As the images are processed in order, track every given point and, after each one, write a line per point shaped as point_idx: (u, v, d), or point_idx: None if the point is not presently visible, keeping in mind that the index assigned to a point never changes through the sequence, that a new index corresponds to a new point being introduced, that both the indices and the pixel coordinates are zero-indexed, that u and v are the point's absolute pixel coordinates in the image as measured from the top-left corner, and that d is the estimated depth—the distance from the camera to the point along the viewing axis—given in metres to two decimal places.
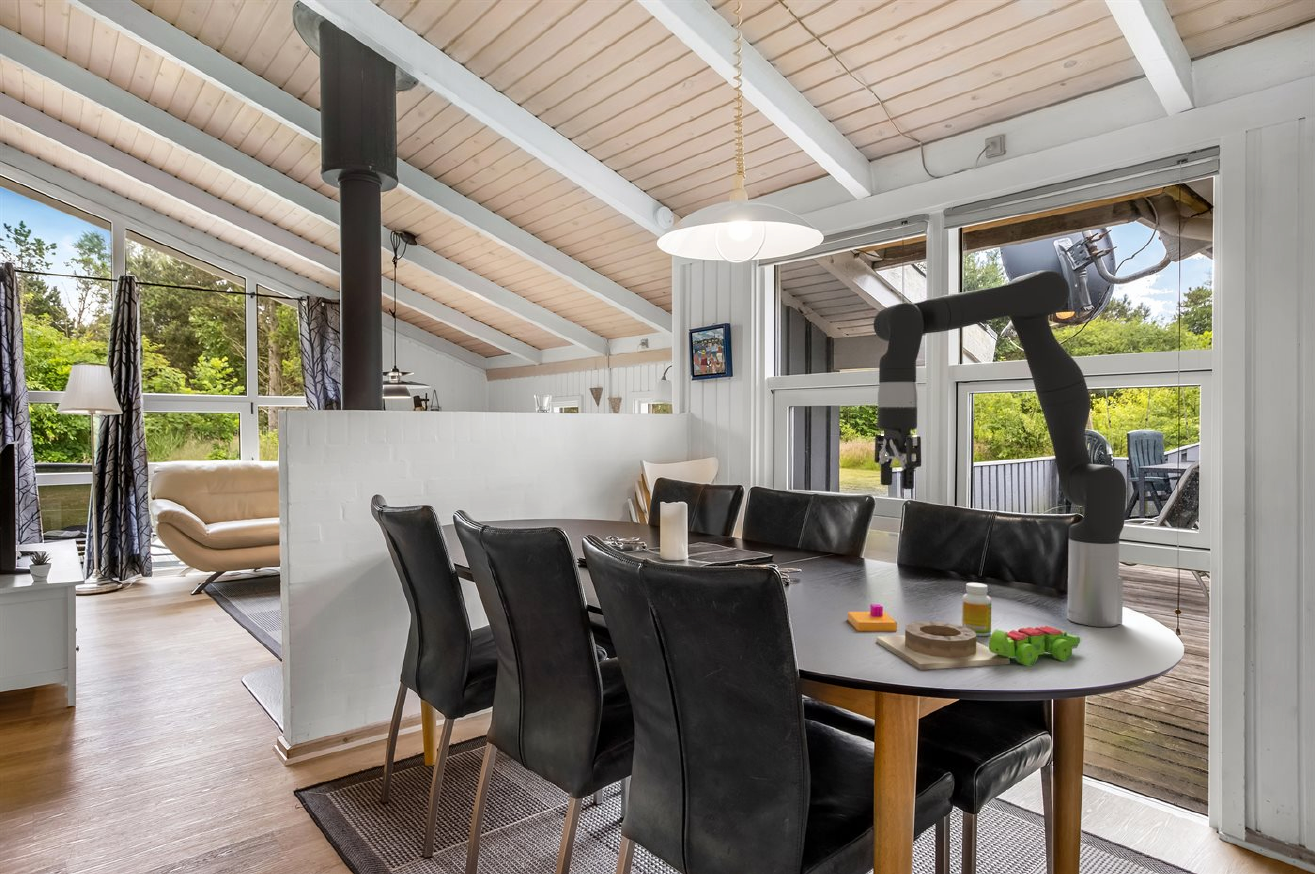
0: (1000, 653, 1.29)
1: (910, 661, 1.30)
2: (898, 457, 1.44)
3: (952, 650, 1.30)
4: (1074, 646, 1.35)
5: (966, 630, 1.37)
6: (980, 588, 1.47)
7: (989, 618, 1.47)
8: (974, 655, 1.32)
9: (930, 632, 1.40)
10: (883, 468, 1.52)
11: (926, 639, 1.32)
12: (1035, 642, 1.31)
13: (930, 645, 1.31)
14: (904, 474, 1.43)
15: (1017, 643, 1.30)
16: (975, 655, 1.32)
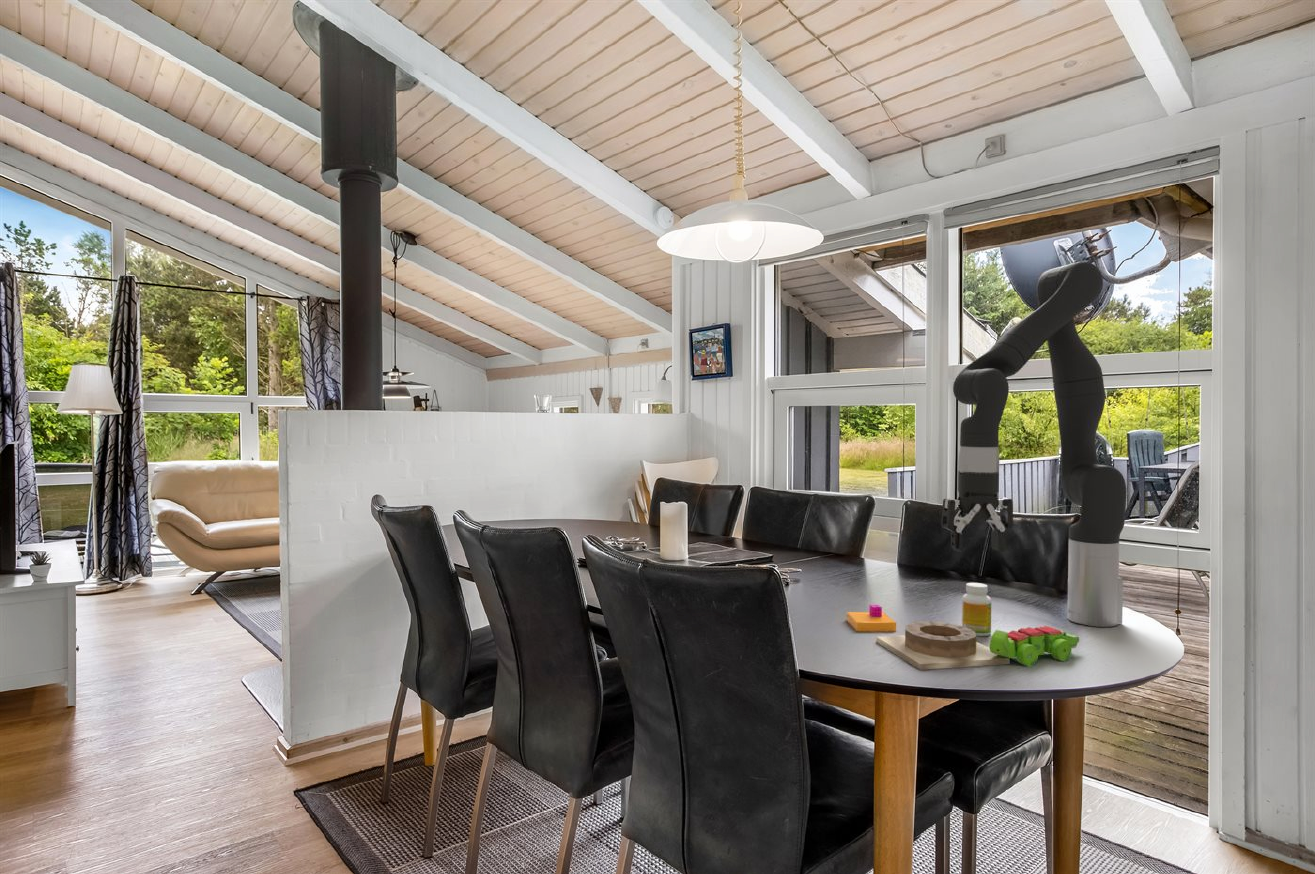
0: (1001, 654, 1.29)
1: (910, 661, 1.30)
2: (998, 520, 1.47)
3: (952, 650, 1.30)
4: (1073, 646, 1.35)
5: (966, 630, 1.37)
6: (980, 588, 1.47)
7: (989, 618, 1.47)
8: (974, 655, 1.32)
9: (930, 632, 1.40)
10: None
11: (926, 639, 1.32)
12: (1035, 642, 1.31)
13: (930, 645, 1.31)
14: None
15: (1017, 644, 1.30)
16: (975, 655, 1.32)
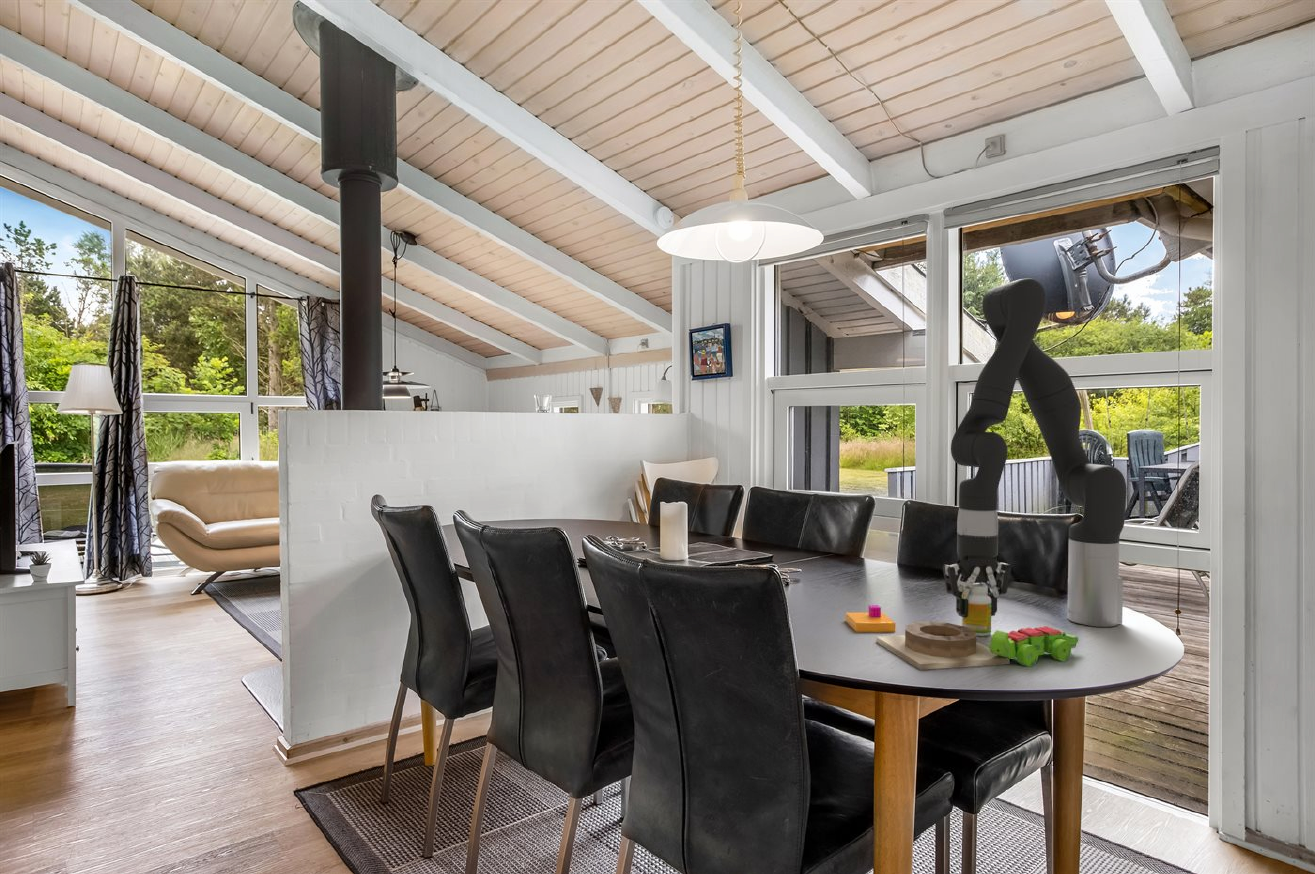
0: (1001, 654, 1.29)
1: (910, 661, 1.30)
2: (994, 585, 1.47)
3: (952, 650, 1.30)
4: (1072, 646, 1.35)
5: (966, 630, 1.37)
6: (980, 588, 1.47)
7: (989, 618, 1.47)
8: (974, 655, 1.32)
9: (930, 632, 1.40)
10: None
11: (926, 639, 1.32)
12: (1035, 642, 1.31)
13: (930, 645, 1.31)
14: None
15: (1017, 644, 1.30)
16: (975, 655, 1.32)
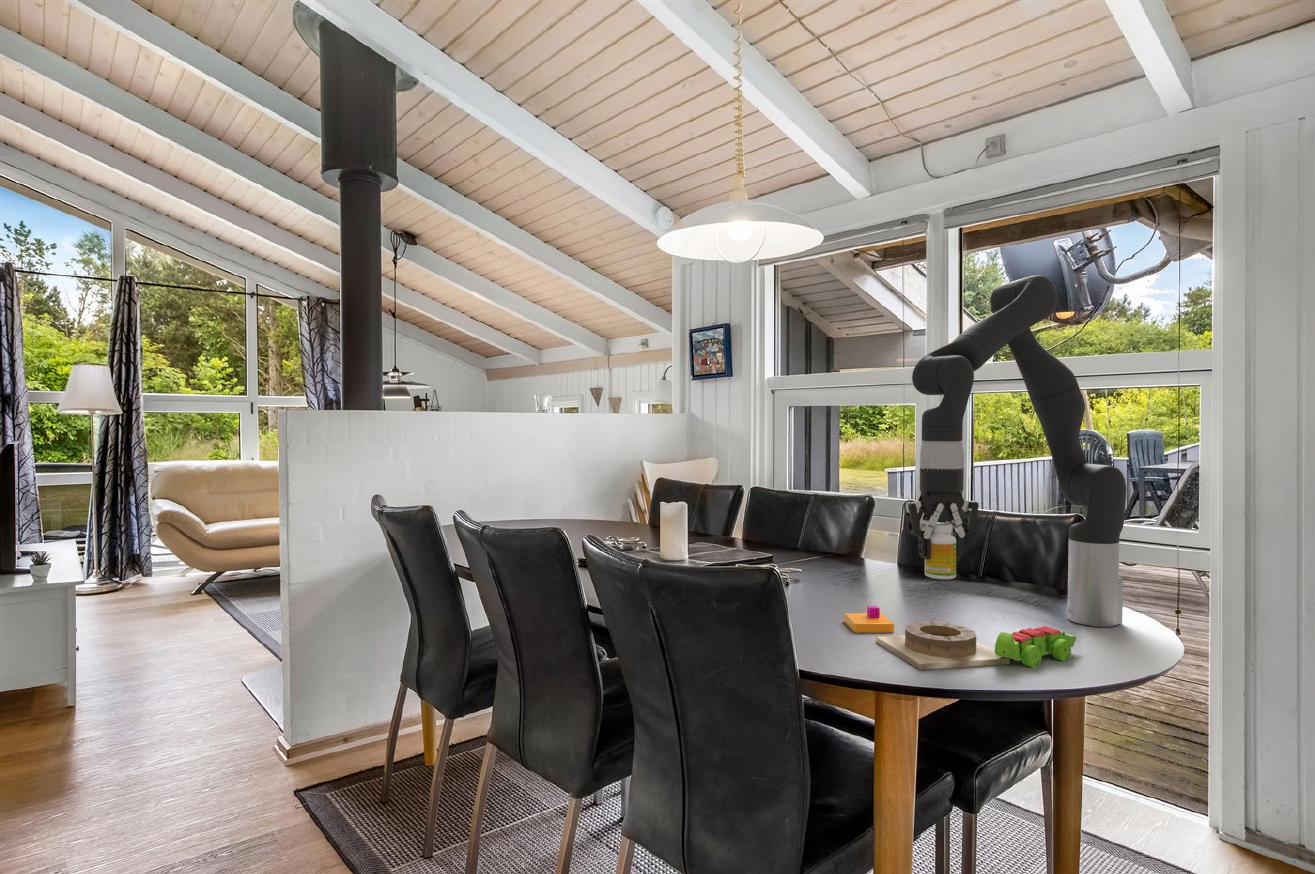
0: (1006, 656, 1.28)
1: (910, 661, 1.30)
2: (960, 524, 1.35)
3: (952, 650, 1.30)
4: (1071, 645, 1.35)
5: (966, 630, 1.37)
6: (944, 527, 1.34)
7: (954, 559, 1.34)
8: (974, 655, 1.32)
9: (930, 632, 1.40)
10: None
11: (926, 639, 1.32)
12: (1038, 643, 1.31)
13: (930, 645, 1.31)
14: None
15: (1021, 645, 1.29)
16: (975, 655, 1.32)
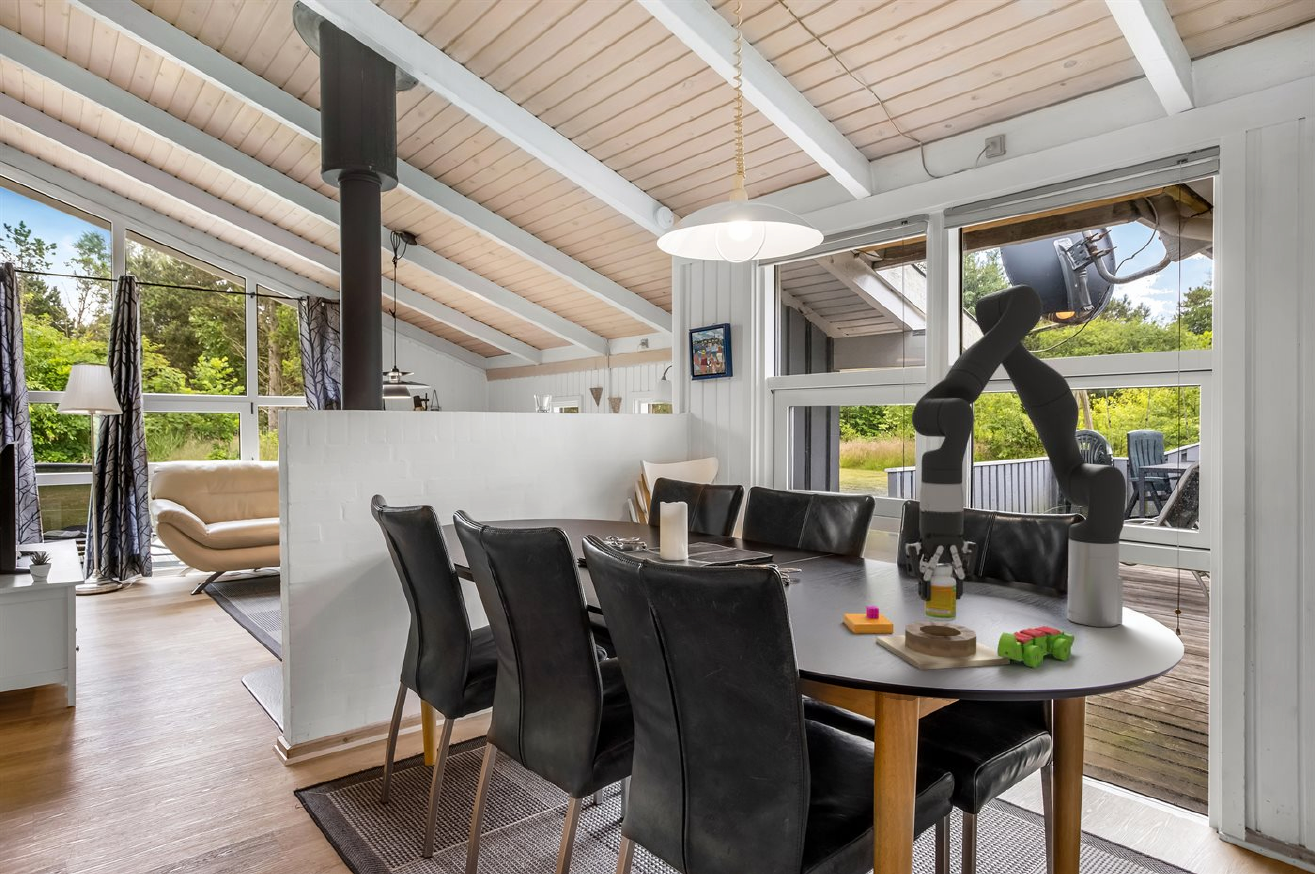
0: (1009, 656, 1.27)
1: (910, 661, 1.30)
2: (959, 566, 1.35)
3: (952, 650, 1.30)
4: (1070, 645, 1.36)
5: (966, 630, 1.37)
6: (944, 569, 1.34)
7: (953, 601, 1.34)
8: (974, 655, 1.32)
9: (930, 632, 1.40)
10: None
11: (926, 639, 1.32)
12: (1039, 643, 1.31)
13: (930, 645, 1.31)
14: None
15: (1024, 646, 1.29)
16: (975, 655, 1.32)
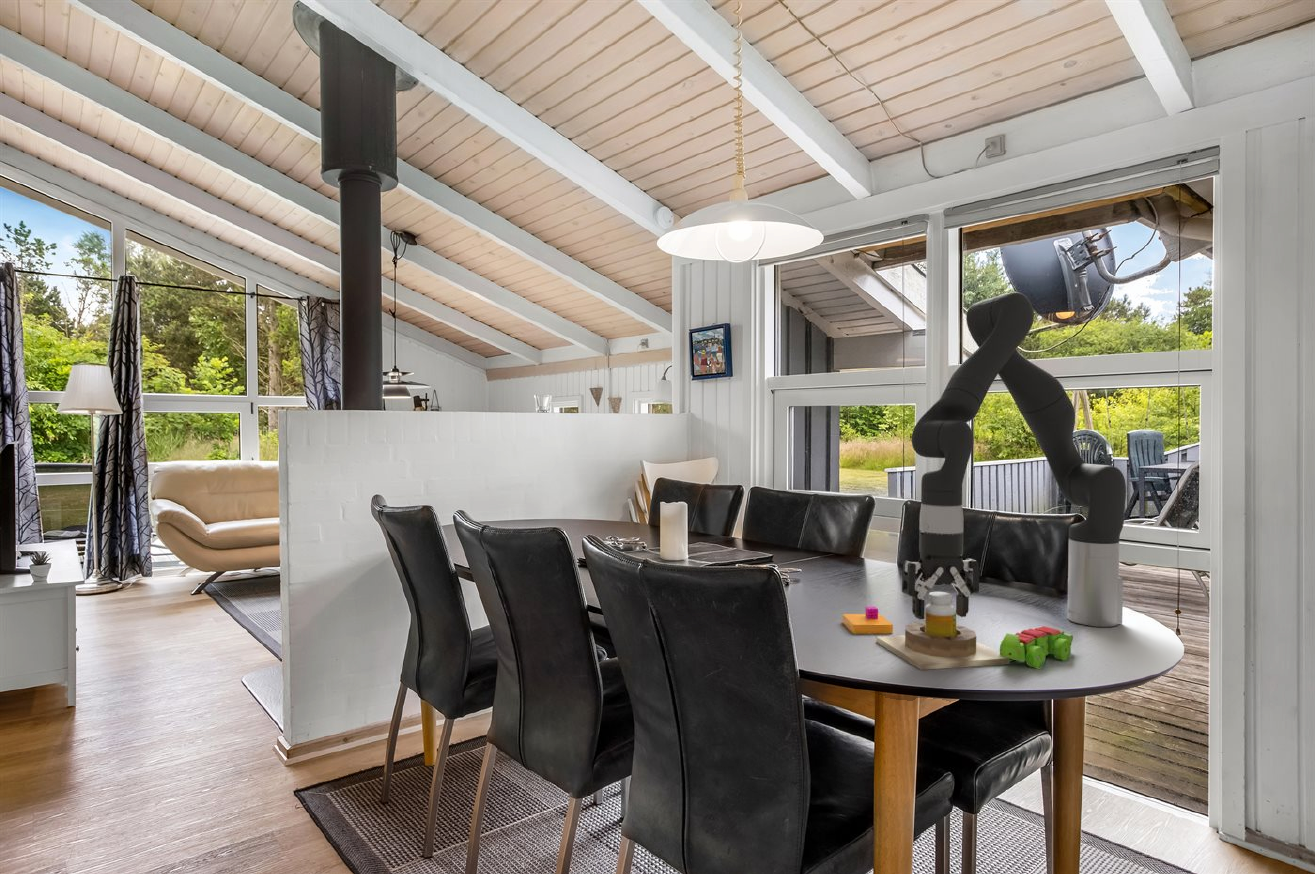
0: (1013, 657, 1.27)
1: (910, 661, 1.30)
2: (963, 584, 1.35)
3: (952, 650, 1.30)
4: None
5: (966, 630, 1.37)
6: (943, 598, 1.34)
7: (954, 630, 1.34)
8: (974, 655, 1.32)
9: None
10: None
11: (926, 639, 1.32)
12: (1040, 643, 1.31)
13: (930, 645, 1.31)
14: None
15: (1026, 646, 1.29)
16: (975, 655, 1.32)
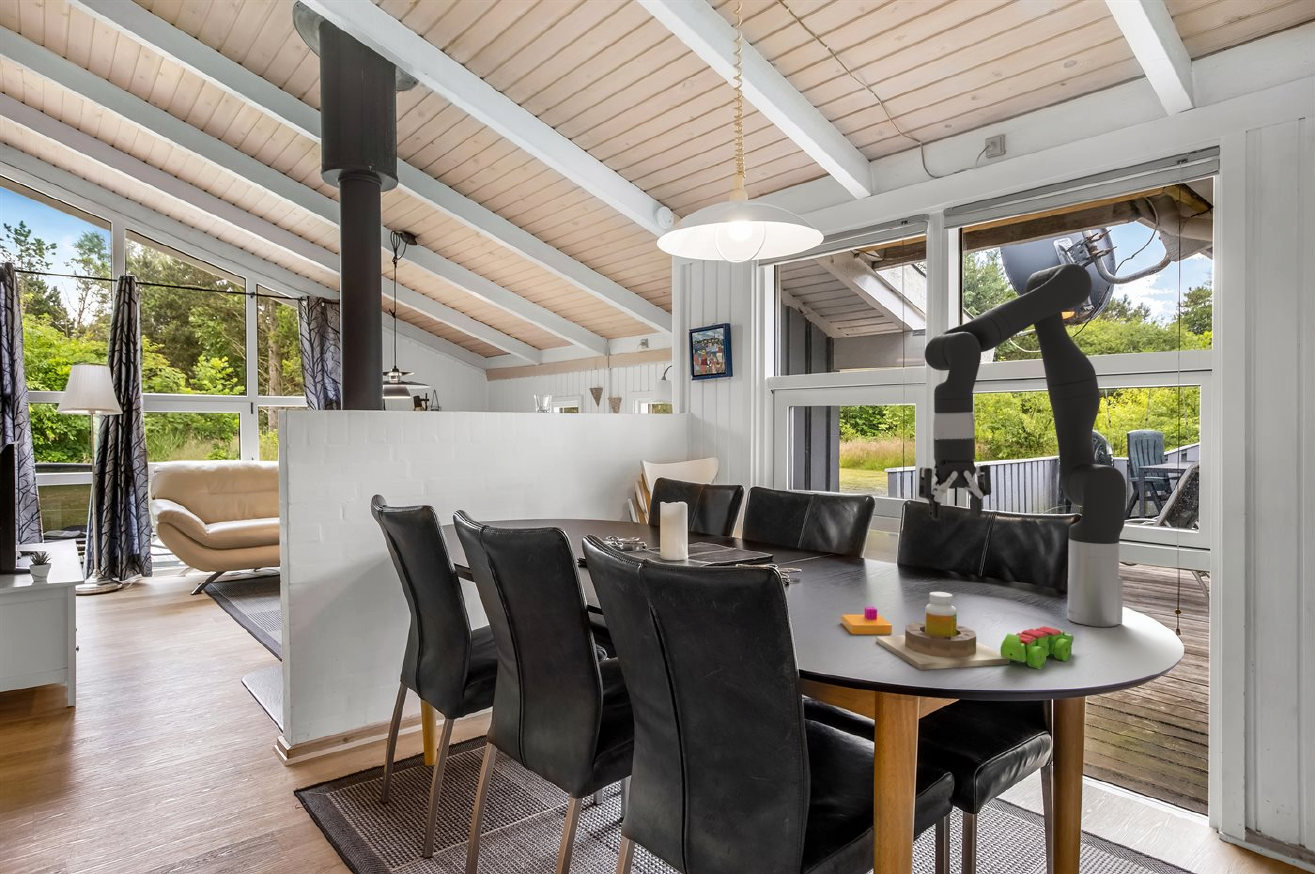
0: (1014, 658, 1.27)
1: (910, 661, 1.30)
2: (976, 487, 1.44)
3: (952, 650, 1.30)
4: None
5: (966, 630, 1.37)
6: (944, 598, 1.34)
7: (954, 631, 1.34)
8: (974, 655, 1.32)
9: None
10: None
11: (926, 639, 1.32)
12: (1041, 643, 1.30)
13: (930, 645, 1.31)
14: None
15: (1027, 647, 1.28)
16: (975, 655, 1.32)
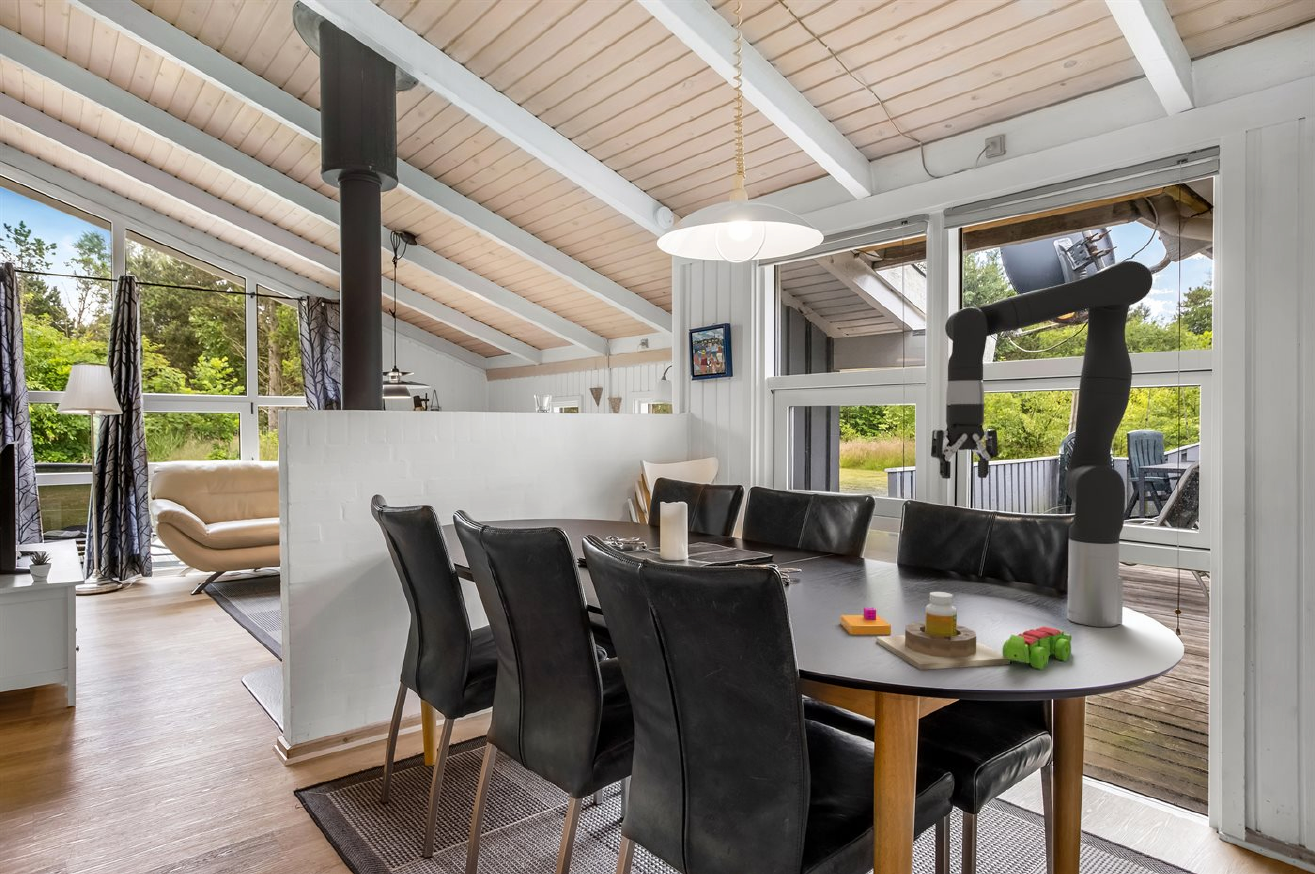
0: (1018, 659, 1.26)
1: (910, 661, 1.30)
2: (984, 449, 1.58)
3: (952, 650, 1.30)
4: None
5: (966, 630, 1.37)
6: (944, 598, 1.34)
7: (954, 631, 1.34)
8: (974, 655, 1.32)
9: None
10: None
11: (926, 639, 1.32)
12: (1043, 644, 1.30)
13: (930, 645, 1.31)
14: None
15: (1030, 647, 1.28)
16: (975, 655, 1.32)
